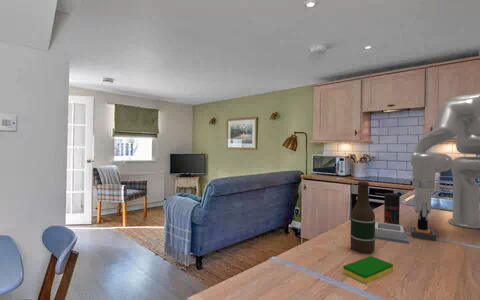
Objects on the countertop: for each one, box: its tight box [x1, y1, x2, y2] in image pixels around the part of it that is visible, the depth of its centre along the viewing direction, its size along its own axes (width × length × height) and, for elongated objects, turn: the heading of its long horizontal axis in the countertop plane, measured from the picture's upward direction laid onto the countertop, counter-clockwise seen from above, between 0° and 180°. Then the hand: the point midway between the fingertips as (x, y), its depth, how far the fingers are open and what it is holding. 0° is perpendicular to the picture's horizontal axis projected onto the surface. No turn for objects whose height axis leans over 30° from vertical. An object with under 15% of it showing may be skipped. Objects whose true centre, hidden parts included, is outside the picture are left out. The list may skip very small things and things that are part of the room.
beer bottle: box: [350, 180, 376, 255], centre depth 93 cm, size 8×8×24 cm
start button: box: [415, 226, 430, 233], centre depth 108 cm, size 5×5×2 cm
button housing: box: [409, 226, 437, 242], centre depth 108 cm, size 8×8×2 cm
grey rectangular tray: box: [375, 221, 410, 245], centre depth 108 cm, size 14×13×4 cm
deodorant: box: [383, 192, 401, 225], centre depth 119 cm, size 6×6×15 cm
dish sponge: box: [342, 255, 394, 284], centre depth 77 cm, size 7×14×2 cm, turn 122°
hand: (422, 229), depth 108 cm, fingers closed
